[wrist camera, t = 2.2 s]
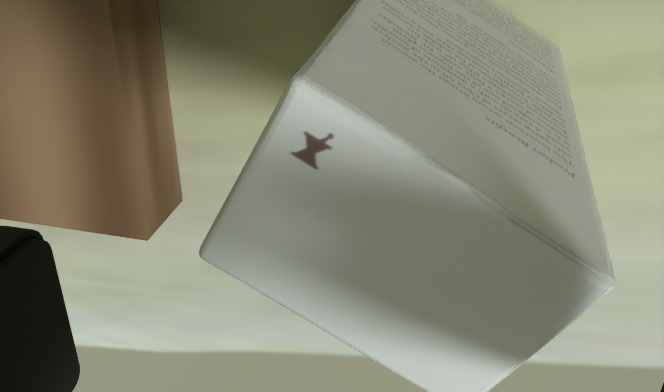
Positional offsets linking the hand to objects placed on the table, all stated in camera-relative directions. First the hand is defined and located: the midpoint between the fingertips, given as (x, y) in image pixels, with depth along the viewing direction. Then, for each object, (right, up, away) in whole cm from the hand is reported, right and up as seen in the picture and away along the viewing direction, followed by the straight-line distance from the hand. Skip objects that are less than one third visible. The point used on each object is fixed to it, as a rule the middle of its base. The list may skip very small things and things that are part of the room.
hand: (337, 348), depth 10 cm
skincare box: (+4, +7, +11) cm, 14 cm away
